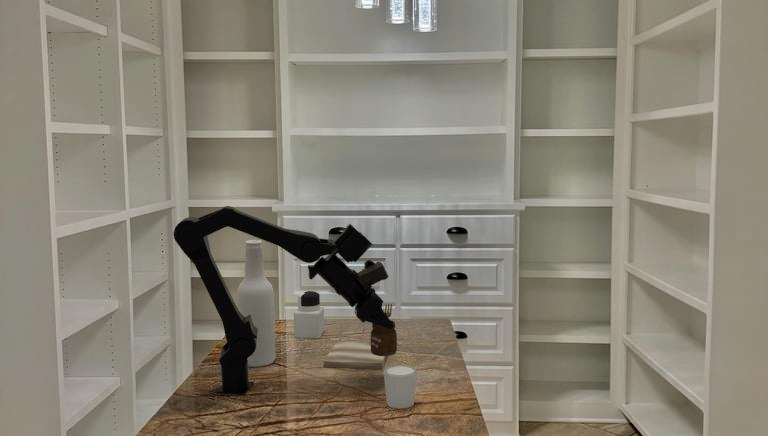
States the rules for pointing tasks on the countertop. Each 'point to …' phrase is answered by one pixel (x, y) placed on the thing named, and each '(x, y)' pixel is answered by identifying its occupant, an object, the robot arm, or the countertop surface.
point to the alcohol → (258, 305)
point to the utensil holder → (384, 338)
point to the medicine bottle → (308, 316)
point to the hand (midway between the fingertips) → (389, 323)
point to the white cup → (400, 386)
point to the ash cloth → (353, 356)
